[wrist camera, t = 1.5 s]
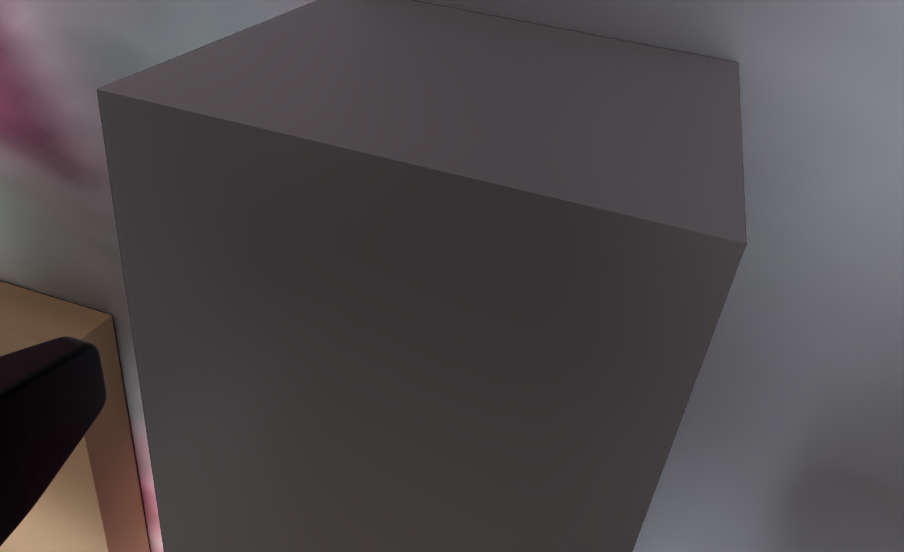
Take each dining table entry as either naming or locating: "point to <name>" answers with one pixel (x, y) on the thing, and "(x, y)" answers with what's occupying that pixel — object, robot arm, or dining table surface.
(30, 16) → the dining table surface
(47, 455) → the robot arm
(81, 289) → the dining table surface
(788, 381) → the dining table surface
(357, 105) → the plug housing
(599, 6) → the dining table surface
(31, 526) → the pin board
